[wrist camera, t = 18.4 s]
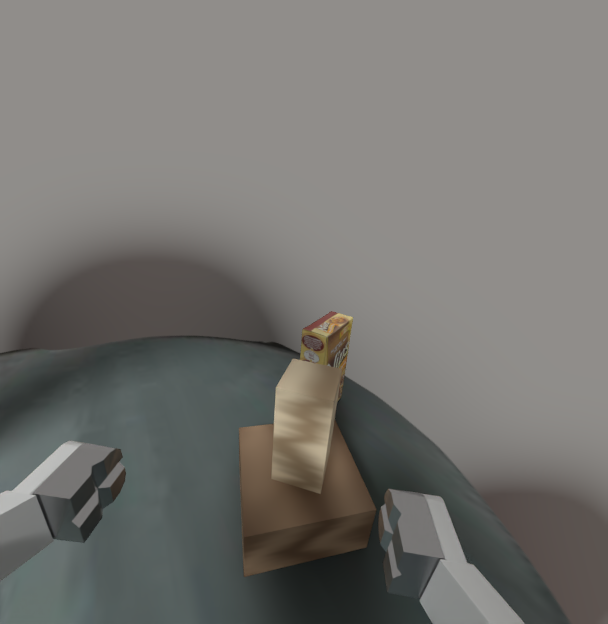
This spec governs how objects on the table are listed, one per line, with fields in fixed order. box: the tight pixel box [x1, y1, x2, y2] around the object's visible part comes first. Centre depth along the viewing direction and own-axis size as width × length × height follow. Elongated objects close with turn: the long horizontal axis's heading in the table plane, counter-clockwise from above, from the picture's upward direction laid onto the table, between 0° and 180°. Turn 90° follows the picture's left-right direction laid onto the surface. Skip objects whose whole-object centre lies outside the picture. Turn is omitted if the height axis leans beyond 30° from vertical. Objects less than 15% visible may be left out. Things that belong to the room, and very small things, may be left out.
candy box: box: [300, 311, 353, 402], centre depth 44 cm, size 9×4×15 cm, turn 148°
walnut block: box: [239, 420, 377, 577], centre depth 31 cm, size 12×12×6 cm
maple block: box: [271, 359, 342, 494], centre depth 28 cm, size 5×5×11 cm
